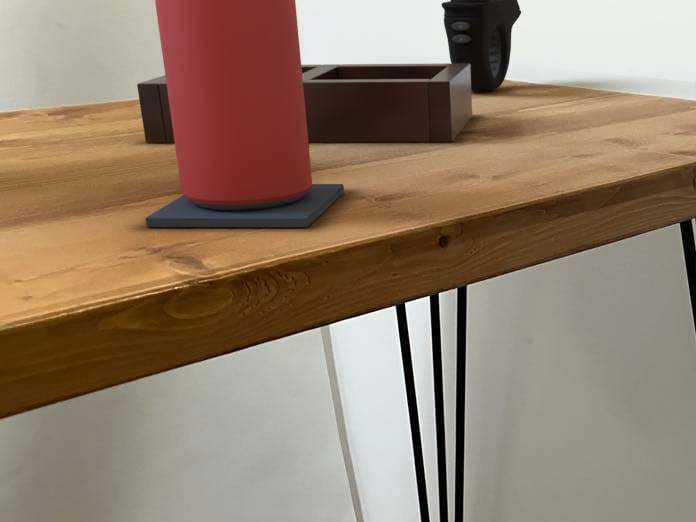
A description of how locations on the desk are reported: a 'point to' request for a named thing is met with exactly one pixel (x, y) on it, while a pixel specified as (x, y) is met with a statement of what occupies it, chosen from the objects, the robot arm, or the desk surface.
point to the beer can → (236, 101)
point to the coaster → (249, 212)
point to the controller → (481, 38)
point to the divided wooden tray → (357, 103)
